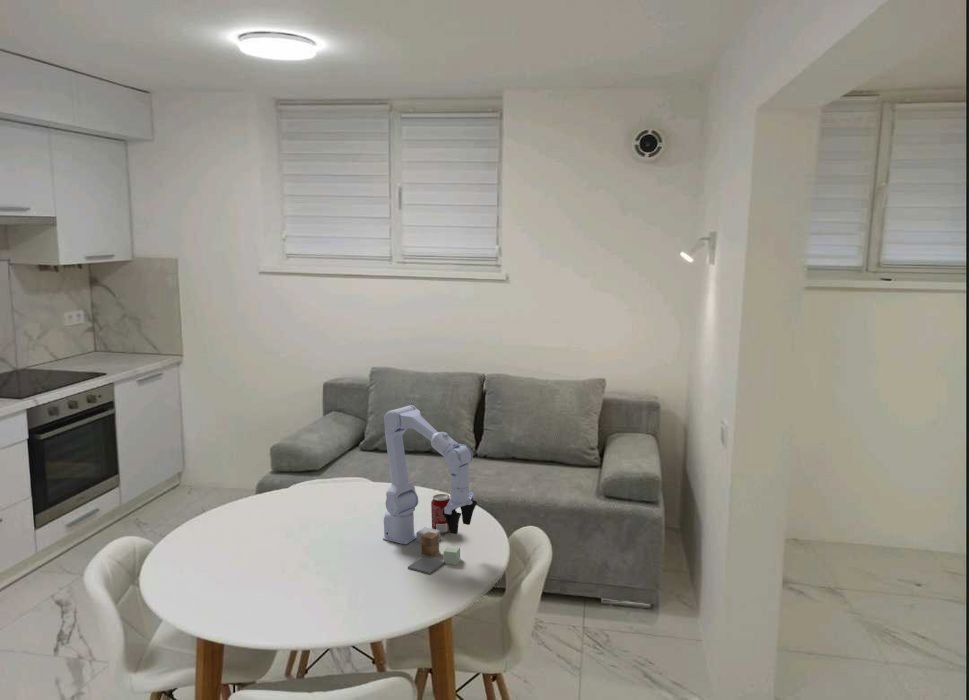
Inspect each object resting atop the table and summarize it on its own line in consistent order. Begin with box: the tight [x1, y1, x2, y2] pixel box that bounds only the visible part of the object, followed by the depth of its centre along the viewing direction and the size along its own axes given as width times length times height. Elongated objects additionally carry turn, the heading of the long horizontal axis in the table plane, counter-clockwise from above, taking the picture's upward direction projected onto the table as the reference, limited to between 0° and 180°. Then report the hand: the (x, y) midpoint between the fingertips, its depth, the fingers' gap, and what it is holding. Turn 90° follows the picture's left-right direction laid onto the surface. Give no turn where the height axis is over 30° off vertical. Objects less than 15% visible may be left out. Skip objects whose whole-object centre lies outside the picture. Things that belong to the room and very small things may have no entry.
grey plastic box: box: [416, 527, 441, 543], centre depth 242 cm, size 6×5×3 cm
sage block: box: [443, 545, 461, 566], centre depth 226 cm, size 4×4×4 cm
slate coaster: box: [407, 555, 445, 575], centre depth 223 cm, size 8×8×1 cm
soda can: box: [430, 493, 450, 535], centre depth 247 cm, size 7×7×12 cm
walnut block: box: [420, 532, 440, 558], centre depth 231 cm, size 4×4×6 cm
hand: (460, 528), depth 226 cm, fingers open, 7 cm apart
